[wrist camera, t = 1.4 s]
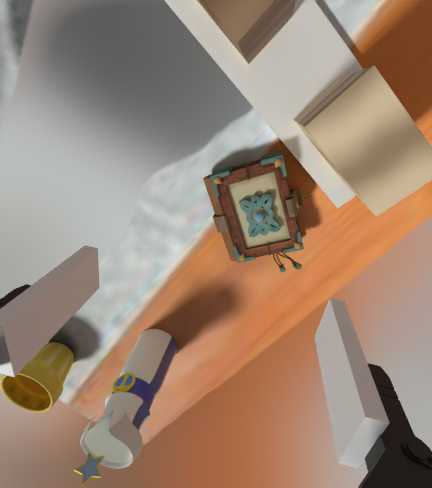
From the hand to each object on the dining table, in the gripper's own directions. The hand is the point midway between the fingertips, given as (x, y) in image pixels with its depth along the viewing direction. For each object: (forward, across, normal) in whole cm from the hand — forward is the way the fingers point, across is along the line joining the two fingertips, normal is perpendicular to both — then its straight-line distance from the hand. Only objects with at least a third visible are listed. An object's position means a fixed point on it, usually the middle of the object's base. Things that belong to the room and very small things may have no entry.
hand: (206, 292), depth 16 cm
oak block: (+26, +10, +8) cm, 29 cm away
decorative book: (+27, +4, -5) cm, 28 cm away
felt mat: (+26, +3, +14) cm, 30 cm away
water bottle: (+27, -11, -34) cm, 44 cm away
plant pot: (+26, -32, -43) cm, 59 cm away
